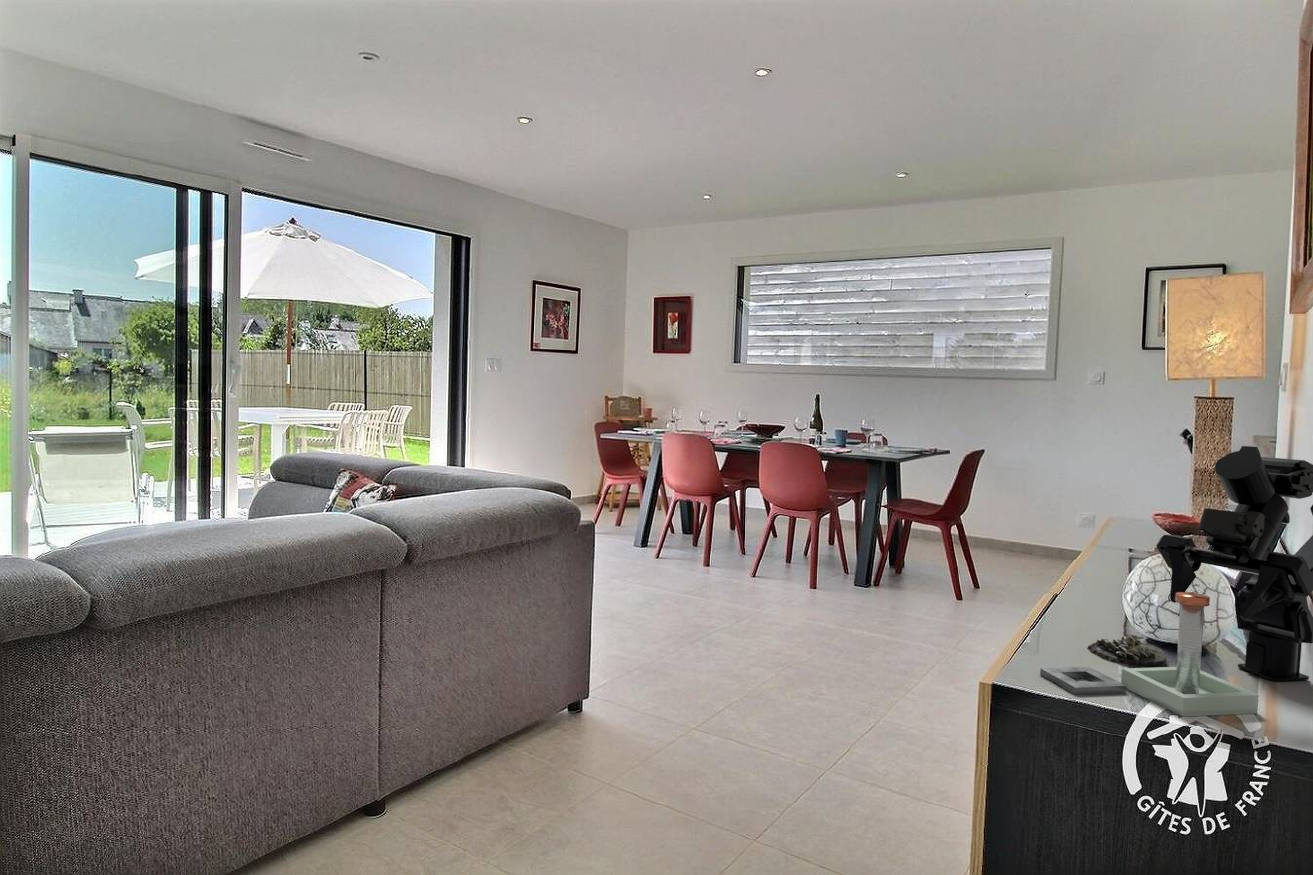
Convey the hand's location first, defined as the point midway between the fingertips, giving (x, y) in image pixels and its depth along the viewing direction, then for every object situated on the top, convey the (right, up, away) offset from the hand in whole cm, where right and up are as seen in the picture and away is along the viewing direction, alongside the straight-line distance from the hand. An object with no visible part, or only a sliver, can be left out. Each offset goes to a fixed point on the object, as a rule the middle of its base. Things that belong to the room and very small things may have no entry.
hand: (1205, 608), depth 117 cm
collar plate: (-15, -12, +4) cm, 20 cm away
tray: (-3, -12, -1) cm, 13 cm away
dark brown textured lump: (-1, -12, +18) cm, 22 cm away
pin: (-3, -12, -1) cm, 12 cm away
